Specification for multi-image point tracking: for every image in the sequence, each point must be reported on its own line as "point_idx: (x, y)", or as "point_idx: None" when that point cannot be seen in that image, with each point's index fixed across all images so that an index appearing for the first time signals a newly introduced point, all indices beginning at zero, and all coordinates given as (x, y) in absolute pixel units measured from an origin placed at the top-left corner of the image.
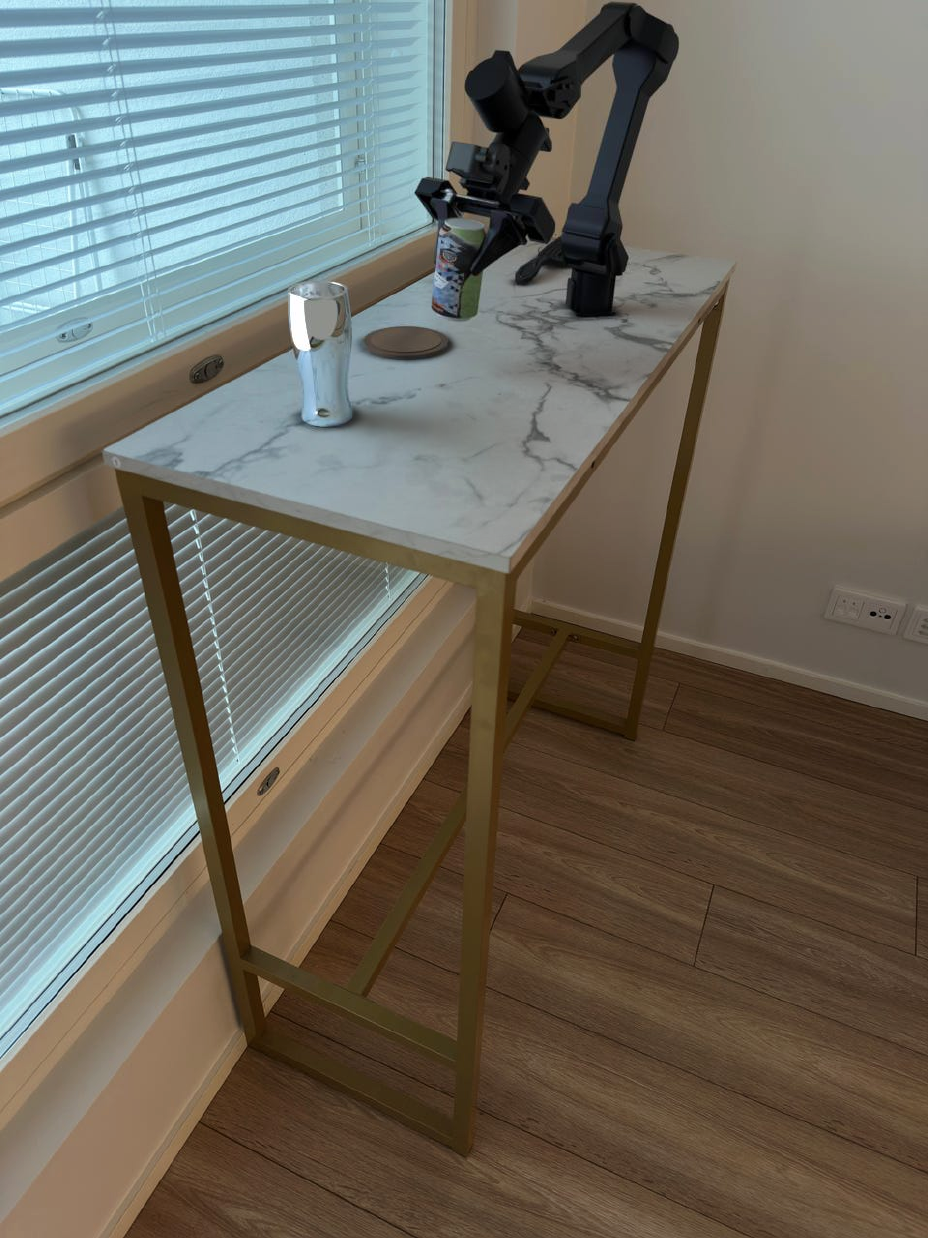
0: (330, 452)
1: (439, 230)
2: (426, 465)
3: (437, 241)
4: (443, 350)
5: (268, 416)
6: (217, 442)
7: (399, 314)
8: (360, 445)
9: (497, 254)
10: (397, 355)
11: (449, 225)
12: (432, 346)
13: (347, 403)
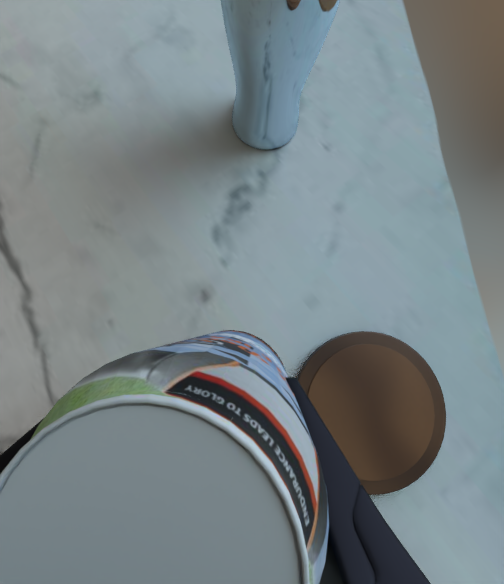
0: (193, 53)
1: (368, 516)
2: (77, 87)
3: (332, 449)
4: None
5: (323, 82)
6: None
7: (490, 540)
8: (176, 84)
9: None
10: (332, 339)
11: (179, 398)
12: None
13: (235, 109)
